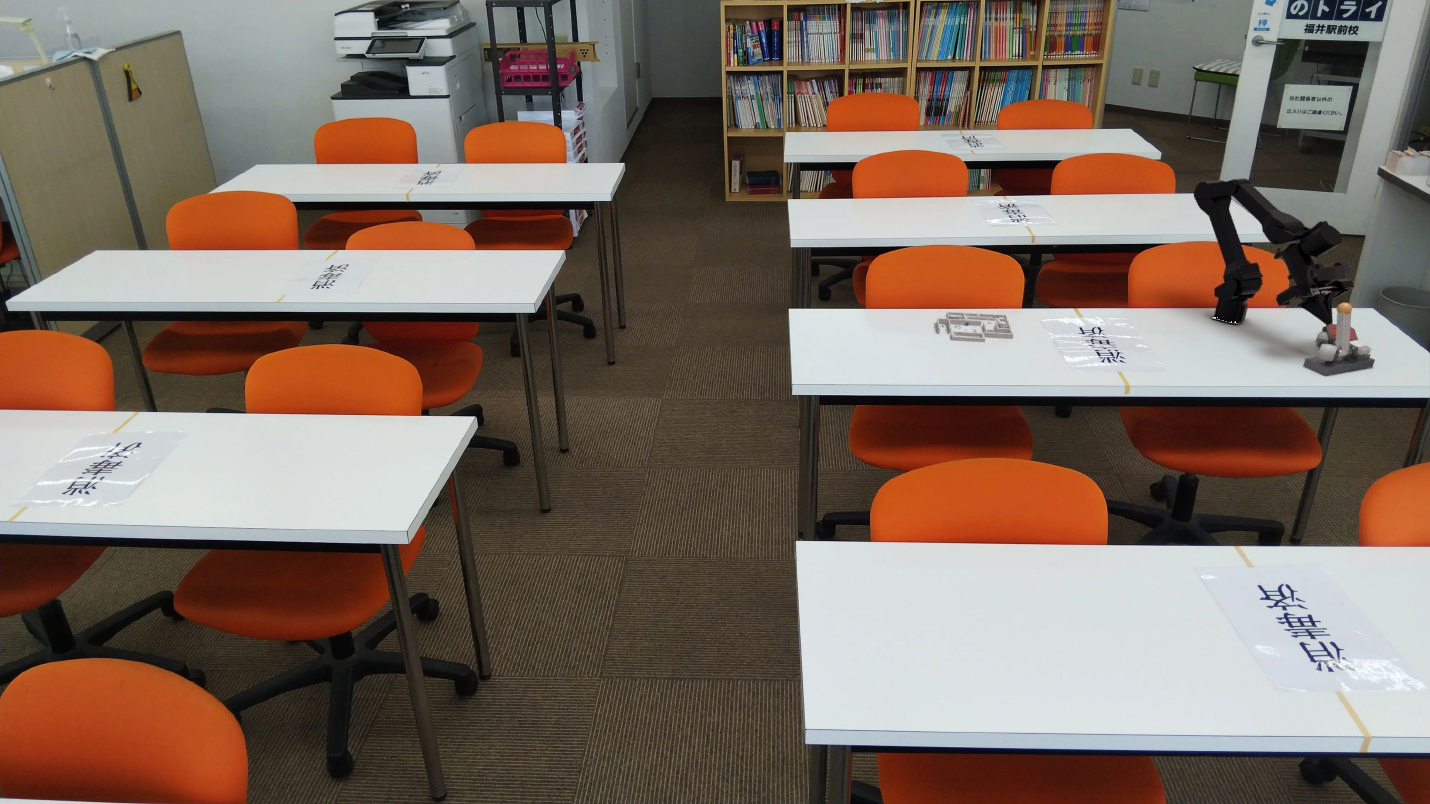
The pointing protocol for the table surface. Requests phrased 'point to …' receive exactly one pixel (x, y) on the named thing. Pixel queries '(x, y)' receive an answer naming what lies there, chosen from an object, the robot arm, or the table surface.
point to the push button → (1327, 352)
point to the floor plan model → (1001, 328)
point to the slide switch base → (1340, 363)
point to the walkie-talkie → (1332, 335)
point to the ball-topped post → (1343, 329)
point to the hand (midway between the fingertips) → (1329, 324)
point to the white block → (1361, 347)
